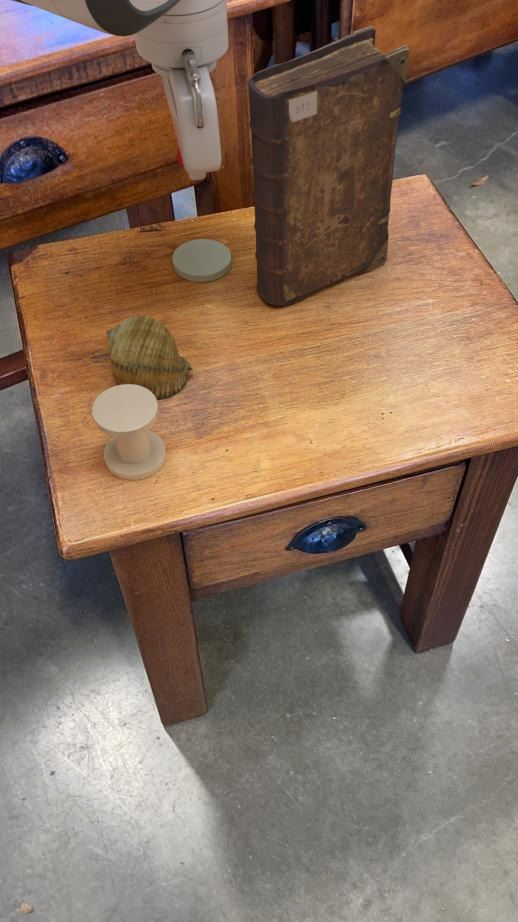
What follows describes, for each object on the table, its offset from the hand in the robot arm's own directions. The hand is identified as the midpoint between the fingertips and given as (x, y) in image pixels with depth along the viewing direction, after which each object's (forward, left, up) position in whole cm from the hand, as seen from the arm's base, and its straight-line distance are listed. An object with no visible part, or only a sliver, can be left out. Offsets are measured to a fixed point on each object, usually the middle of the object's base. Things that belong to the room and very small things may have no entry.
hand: (193, 164), depth 89 cm
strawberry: (0, 0, -1) cm, 1 cm away
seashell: (-8, -17, -13) cm, 23 cm away
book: (+13, -5, -13) cm, 19 cm away
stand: (-11, -29, -13) cm, 33 cm away
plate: (0, 0, -13) cm, 13 cm away
